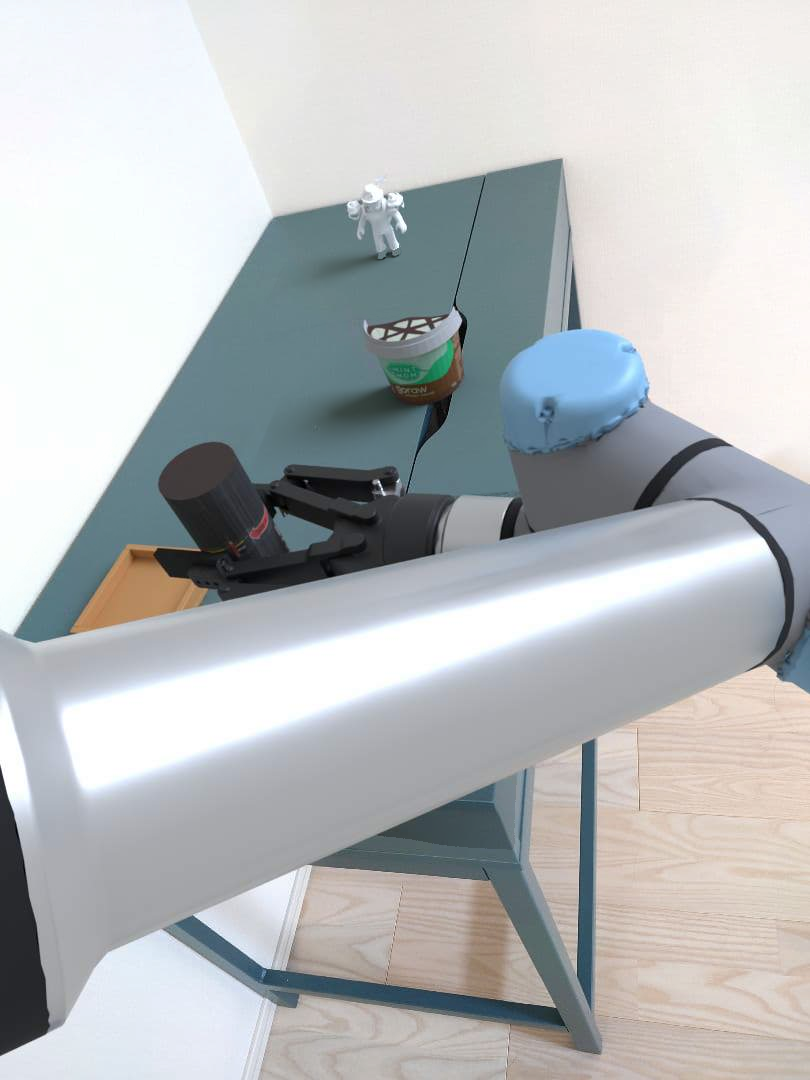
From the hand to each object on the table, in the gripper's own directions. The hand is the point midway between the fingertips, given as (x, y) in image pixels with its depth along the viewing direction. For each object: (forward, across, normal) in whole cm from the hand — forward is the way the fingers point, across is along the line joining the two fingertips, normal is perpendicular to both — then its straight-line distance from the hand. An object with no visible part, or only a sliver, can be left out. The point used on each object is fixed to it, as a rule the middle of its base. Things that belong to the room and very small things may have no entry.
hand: (183, 530), depth 65 cm
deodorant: (-5, 0, -8) cm, 10 cm away
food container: (-3, +41, -20) cm, 45 cm away
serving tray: (+19, +6, -20) cm, 28 cm away
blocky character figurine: (+14, +76, -20) cm, 80 cm away
